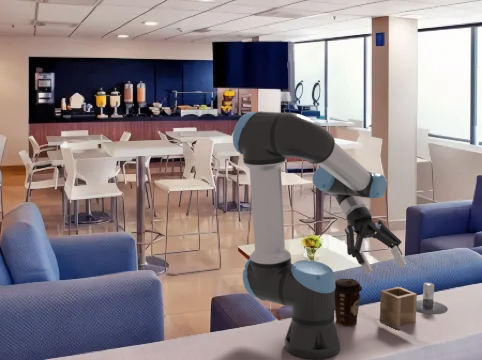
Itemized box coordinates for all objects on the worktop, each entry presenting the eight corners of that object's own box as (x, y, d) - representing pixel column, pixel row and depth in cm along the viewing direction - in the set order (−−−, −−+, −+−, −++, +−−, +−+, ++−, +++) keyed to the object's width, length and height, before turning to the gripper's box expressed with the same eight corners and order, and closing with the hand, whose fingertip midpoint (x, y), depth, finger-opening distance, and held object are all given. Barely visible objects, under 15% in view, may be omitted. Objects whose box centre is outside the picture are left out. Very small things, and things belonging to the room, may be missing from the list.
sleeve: (379, 322, 182) (380, 290, 180) (398, 317, 186) (399, 286, 184) (396, 330, 176) (398, 298, 174) (415, 325, 179) (416, 293, 178)
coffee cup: (359, 318, 185) (360, 277, 183) (362, 328, 177) (363, 286, 175) (331, 317, 186) (332, 277, 184) (332, 327, 178) (333, 286, 176)
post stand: (402, 313, 189) (403, 286, 187) (415, 302, 198) (416, 276, 197) (440, 321, 182) (441, 293, 180) (452, 309, 191) (453, 282, 190)
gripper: (379, 214, 202) (410, 269, 191) (319, 223, 190) (348, 281, 180) (391, 201, 197) (423, 257, 186) (330, 209, 185) (360, 269, 174)
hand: (386, 269), depth 183 cm, fingers open, 13 cm apart
